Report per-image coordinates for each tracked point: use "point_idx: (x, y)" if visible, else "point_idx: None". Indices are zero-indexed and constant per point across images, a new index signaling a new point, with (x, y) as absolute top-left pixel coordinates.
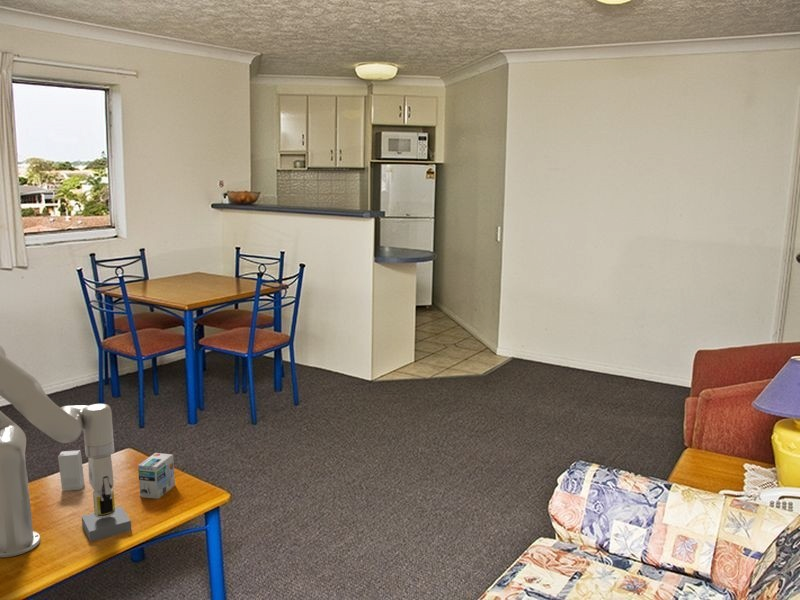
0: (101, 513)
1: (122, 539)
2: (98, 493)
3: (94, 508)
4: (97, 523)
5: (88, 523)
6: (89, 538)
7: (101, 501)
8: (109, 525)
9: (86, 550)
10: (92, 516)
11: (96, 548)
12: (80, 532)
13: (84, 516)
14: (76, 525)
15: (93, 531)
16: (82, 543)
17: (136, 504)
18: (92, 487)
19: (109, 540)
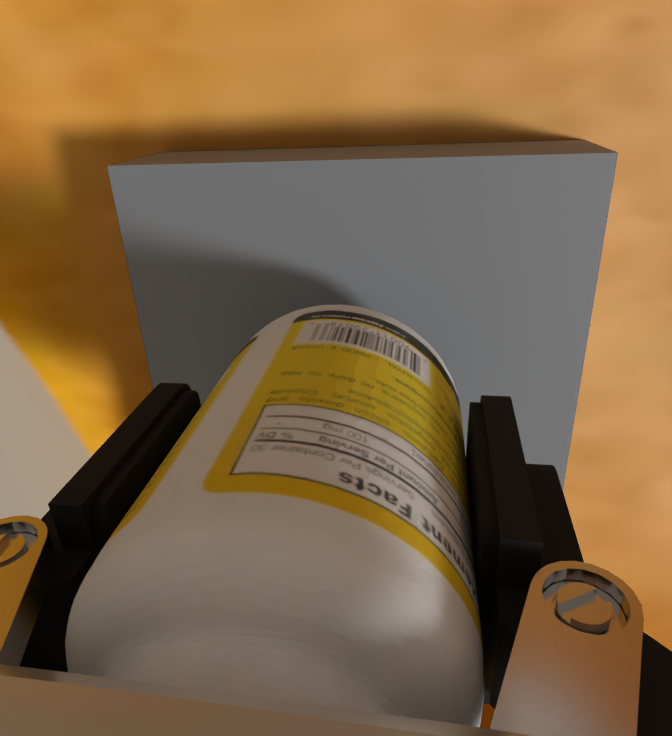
0: (161, 386)
1: (102, 390)
2: (89, 611)
3: (305, 348)
4: (274, 286)
5: (328, 196)
6: (185, 153)
7: (10, 518)
8: (171, 375)
9: (9, 86)
10: (499, 276)
11: (19, 179)
12: (428, 91)
13: (572, 187)
14: (648, 74)
15: (119, 209)
16: (164, 71)
17: (659, 627)
18: (63, 696)
19: (124, 306)
